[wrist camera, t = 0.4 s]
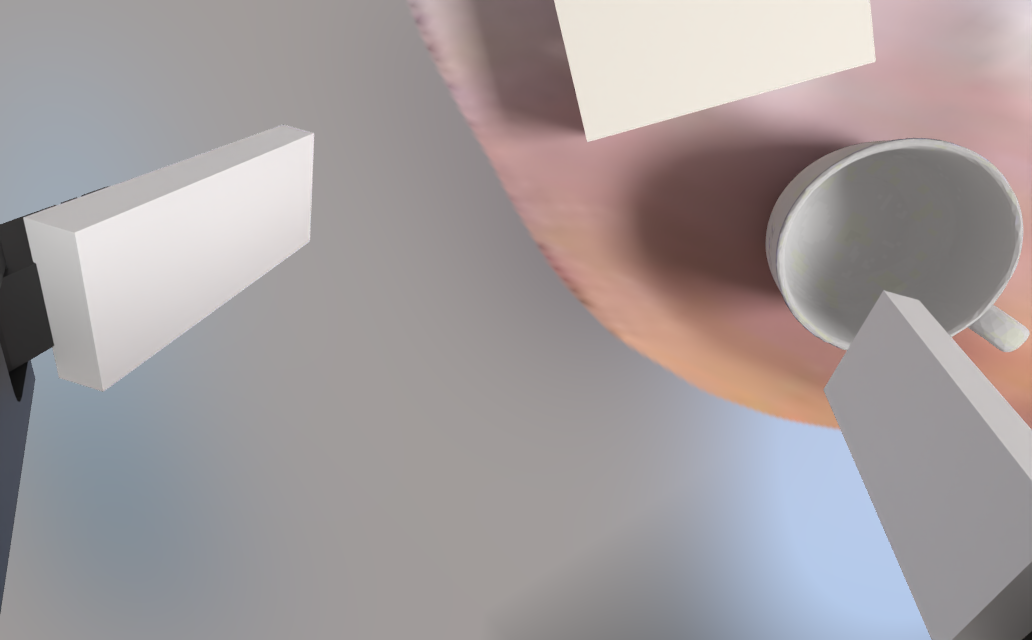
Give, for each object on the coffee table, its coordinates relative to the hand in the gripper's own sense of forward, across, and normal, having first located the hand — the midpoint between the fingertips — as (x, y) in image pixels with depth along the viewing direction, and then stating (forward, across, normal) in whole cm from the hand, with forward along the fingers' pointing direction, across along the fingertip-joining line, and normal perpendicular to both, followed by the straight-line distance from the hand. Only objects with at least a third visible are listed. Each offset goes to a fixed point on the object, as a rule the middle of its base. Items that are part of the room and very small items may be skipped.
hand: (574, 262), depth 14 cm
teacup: (+25, +17, -4) cm, 31 cm away
